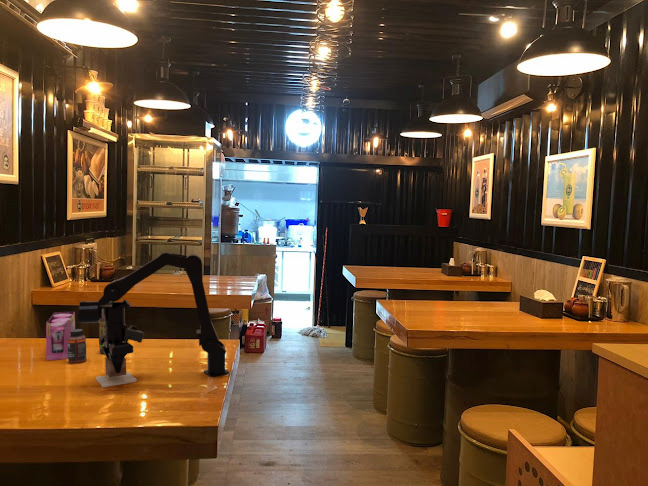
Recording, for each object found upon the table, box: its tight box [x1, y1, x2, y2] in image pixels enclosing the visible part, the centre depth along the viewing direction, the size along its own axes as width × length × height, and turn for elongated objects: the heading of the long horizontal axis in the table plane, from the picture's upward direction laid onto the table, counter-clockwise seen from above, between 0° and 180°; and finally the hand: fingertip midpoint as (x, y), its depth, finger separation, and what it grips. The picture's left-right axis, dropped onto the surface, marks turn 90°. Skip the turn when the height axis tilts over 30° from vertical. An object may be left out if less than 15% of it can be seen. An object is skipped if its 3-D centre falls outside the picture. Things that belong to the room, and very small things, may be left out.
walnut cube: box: [104, 357, 127, 378], centre depth 164 cm, size 5×5×5 cm
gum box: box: [45, 311, 76, 361], centre depth 198 cm, size 24×8×14 cm, turn 20°
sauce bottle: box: [98, 301, 113, 355], centre depth 198 cm, size 6×6×20 cm
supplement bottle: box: [67, 328, 87, 364], centre depth 185 cm, size 6×6×11 cm
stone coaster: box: [95, 371, 138, 388], centre depth 165 cm, size 10×10×1 cm
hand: (116, 370), depth 165 cm, fingers closed on walnut cube, 5 cm apart
